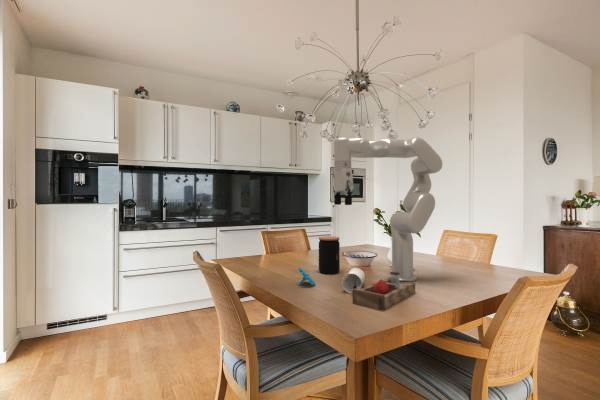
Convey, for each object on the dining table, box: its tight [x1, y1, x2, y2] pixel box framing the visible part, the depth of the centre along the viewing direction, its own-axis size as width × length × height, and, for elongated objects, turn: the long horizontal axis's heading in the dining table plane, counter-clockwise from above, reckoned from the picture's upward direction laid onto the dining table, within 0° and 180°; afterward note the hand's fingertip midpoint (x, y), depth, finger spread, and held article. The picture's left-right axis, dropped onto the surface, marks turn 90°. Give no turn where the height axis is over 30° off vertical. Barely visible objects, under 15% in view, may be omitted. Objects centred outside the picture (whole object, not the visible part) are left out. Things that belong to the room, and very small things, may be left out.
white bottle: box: [340, 267, 366, 294], centre depth 139 cm, size 8×19×8 cm, turn 161°
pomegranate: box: [373, 278, 389, 295], centre depth 122 cm, size 6×6×8 cm
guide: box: [352, 277, 416, 312], centre depth 125 cm, size 28×12×5 cm, turn 139°
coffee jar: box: [318, 235, 341, 275], centre depth 168 cm, size 11×11×18 cm
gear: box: [297, 267, 316, 286], centre depth 144 cm, size 11×6×10 cm
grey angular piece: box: [385, 271, 406, 292], centre depth 130 cm, size 13×7×8 cm, turn 139°
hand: (342, 204), depth 145 cm, fingers open, 9 cm apart
